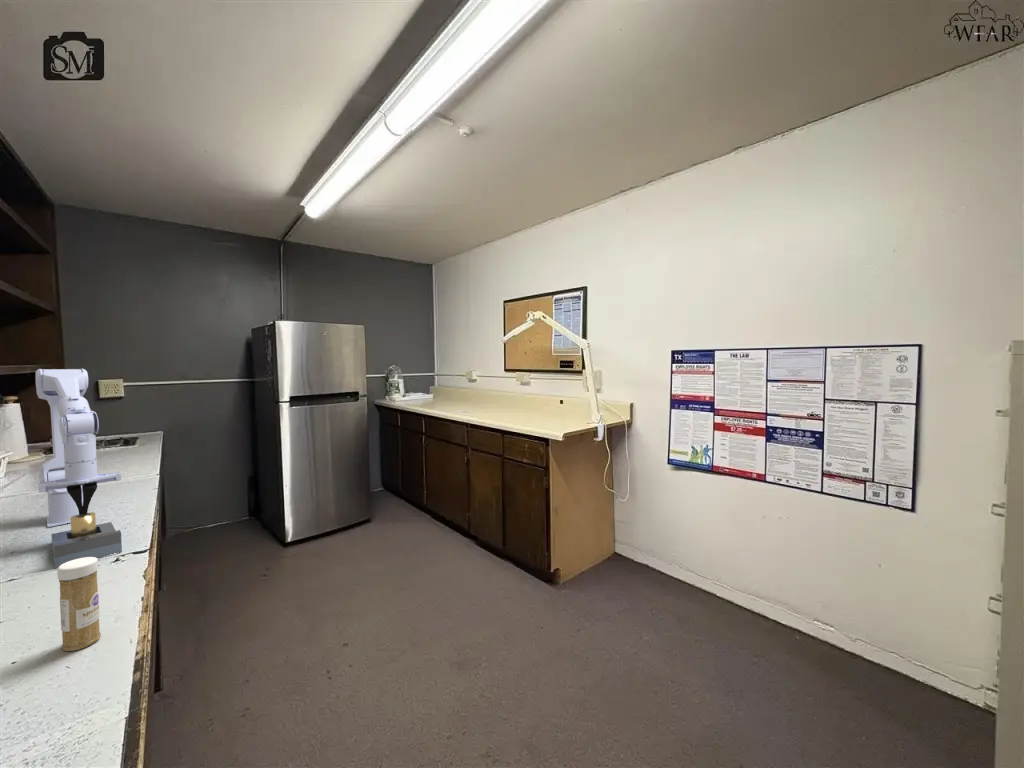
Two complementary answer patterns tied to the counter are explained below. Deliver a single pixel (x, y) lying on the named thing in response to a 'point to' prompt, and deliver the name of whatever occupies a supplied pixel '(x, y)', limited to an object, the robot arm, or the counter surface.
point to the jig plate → (87, 553)
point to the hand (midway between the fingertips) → (83, 513)
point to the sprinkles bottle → (79, 603)
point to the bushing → (83, 525)
